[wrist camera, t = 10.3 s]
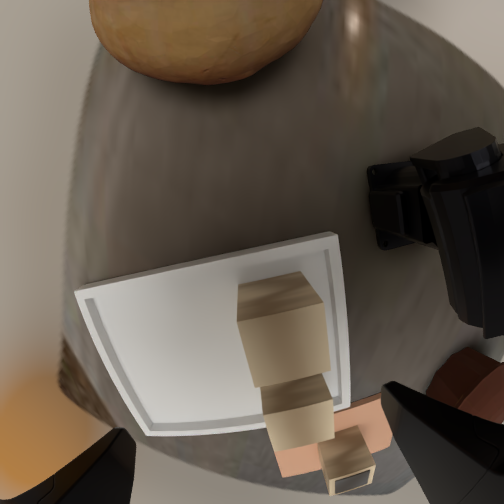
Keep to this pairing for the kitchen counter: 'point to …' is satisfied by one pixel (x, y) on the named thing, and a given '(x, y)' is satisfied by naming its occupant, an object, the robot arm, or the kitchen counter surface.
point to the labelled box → (346, 461)
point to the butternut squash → (201, 35)
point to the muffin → (471, 385)
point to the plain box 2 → (298, 412)
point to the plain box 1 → (282, 329)
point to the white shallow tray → (206, 335)
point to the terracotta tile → (359, 413)
